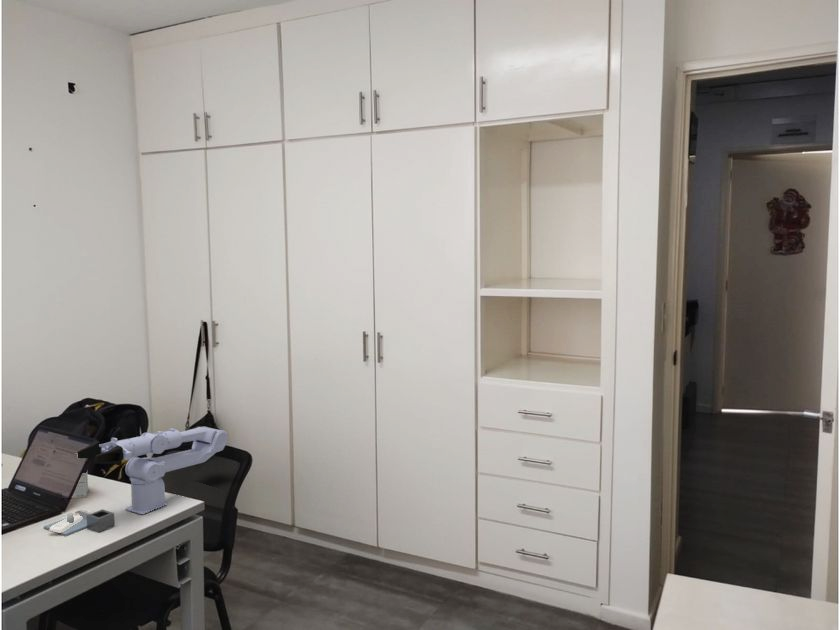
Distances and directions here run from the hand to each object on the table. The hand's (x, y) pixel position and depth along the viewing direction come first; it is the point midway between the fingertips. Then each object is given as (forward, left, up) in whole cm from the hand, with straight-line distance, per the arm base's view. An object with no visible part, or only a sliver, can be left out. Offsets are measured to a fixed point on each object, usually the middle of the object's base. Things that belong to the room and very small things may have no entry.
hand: (86, 457), depth 198 cm
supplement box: (-15, -28, -22) cm, 39 cm away
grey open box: (-3, +1, -22) cm, 22 cm away
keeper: (+1, -7, -22) cm, 23 cm away
